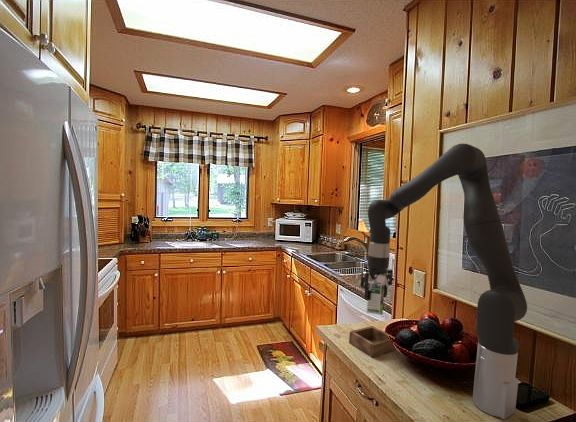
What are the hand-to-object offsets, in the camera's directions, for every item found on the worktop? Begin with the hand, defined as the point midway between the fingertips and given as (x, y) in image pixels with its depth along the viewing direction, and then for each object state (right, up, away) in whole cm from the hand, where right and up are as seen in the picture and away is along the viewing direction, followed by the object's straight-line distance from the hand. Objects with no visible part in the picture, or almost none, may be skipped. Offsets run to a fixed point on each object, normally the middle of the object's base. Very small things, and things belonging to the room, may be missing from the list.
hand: (375, 298), depth 121 cm
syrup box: (0, -5, 0) cm, 5 cm away
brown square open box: (-1, -19, +1) cm, 19 cm away
